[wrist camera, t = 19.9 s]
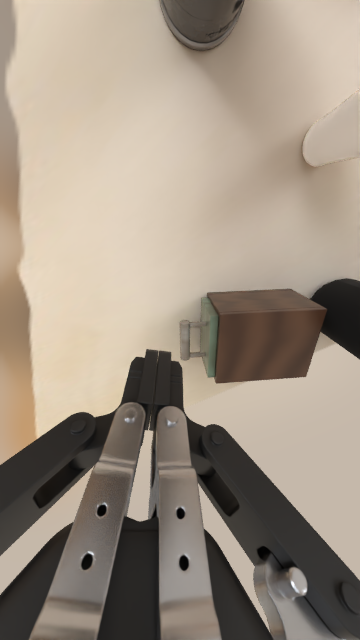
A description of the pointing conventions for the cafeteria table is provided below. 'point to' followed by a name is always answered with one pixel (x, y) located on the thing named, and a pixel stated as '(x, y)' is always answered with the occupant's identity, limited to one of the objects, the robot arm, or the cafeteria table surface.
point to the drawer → (202, 337)
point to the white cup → (335, 134)
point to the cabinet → (265, 334)
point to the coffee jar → (341, 313)
